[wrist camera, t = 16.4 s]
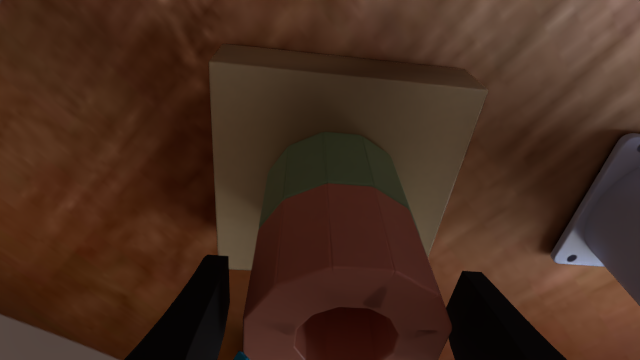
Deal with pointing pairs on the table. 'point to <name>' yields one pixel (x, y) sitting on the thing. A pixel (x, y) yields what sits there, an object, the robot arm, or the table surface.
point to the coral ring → (342, 282)
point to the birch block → (333, 128)
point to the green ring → (330, 169)
